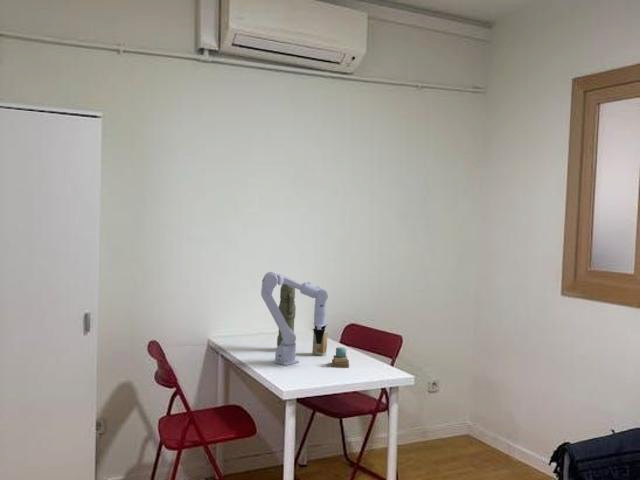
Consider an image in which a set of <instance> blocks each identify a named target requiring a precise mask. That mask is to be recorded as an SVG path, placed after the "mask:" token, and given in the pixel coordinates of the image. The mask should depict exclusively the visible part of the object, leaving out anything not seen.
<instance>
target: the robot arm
mask: <svg viewBox="0 0 640 480" xmlns="http://www.w3.org/2000/svg"><path fill="white" fill-rule="evenodd" d="M261 281H262V282H261V289H260V295H261V297H262V300H263V302H264V303H265V305H266V307H267V309H268V311H269V313H270V314H271V316H272V318H273V320H274V322H275V324H276V326H277V328H278V331H279V330H280V332H281V336H282V339H283V340H282V341H281V344H280V345H279V346H277V345H276V348H275V353H274V354H275V356H274V361H273V362H274V363H275V364H279V365H283V366H288V365H292V364H293V365H294V364H297V363H300V361H299V360H296V351H297V350H296V349H297V348H296V347H297V345H296V344H297V343H296V340H297V336H296V334H295V330H294V331H293V330H292V329H290V328H289V326H288V324H287V323H286V321H285V319H284V317H283V315H282V313H281V311H280V310H279V305H278V304H277V302H276V300H275V299H274V297H273V291H274V289H275V287H276V286H277V285H278V286H282V284H286V285H288V286H291V287H294V288H295V290H296V289H297V290H299V292H300V293H301V294H302V295H304V296H307V297H309V298H312V299H315V301H314V309H313V310H314V312H313V313H314V314H313V325H314V328H313V329H312V331H313V334H314V333H315V337H316V343H317V344H321V342H322V337H323V334H324V332H325V331H326V327H327V326H328V325H329V322H327V309H328V308H327V300H328V298H329V295H328V292H327V290H325V289H324V288H322V287H320V286H316V285H314V284H312V283H311V282H309V281H308V282H306V281H305V282H302V283H301V282H299V281H297V280H295V279H292V278H290V277H289V276H285V275H283V274H280V273H275V272H272V271H268V272H267V273H265V274H264V276H263V278H262V280H261Z"/></svg>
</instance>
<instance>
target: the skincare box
mask: <svg viewBox="0 0 640 480" xmlns="http://www.w3.org/2000/svg"><path fill="white" fill-rule="evenodd" d="M328 332H329V331H327V330H325V332H324V334H323V337H322V342H321V344H317V343H316V337H315V333H314V332H313V337H312V351H311V353H312V355H314V356H321V357H324V356H326V355H327V347H328Z"/></svg>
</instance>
